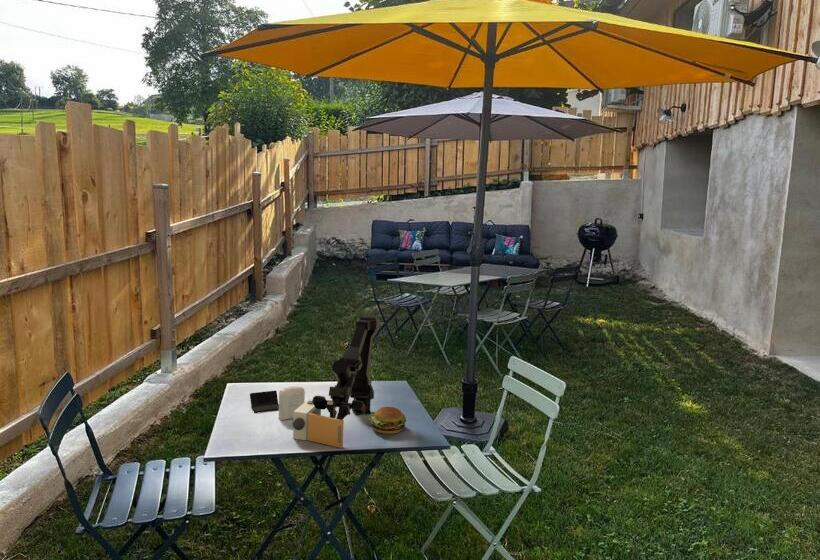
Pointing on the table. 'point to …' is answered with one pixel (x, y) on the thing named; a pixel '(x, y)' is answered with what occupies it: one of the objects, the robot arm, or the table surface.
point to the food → (387, 420)
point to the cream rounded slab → (290, 401)
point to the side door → (325, 430)
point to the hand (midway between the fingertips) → (333, 427)
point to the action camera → (303, 419)
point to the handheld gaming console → (264, 401)
